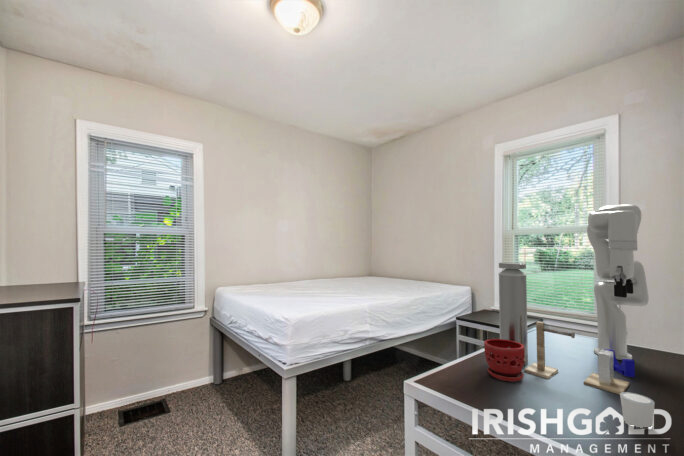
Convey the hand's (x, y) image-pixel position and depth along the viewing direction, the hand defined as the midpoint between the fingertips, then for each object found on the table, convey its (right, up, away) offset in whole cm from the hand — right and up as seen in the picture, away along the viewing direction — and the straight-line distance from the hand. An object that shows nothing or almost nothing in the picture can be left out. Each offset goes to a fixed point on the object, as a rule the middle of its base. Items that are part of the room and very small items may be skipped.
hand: (623, 295), depth 110 cm
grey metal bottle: (-28, -31, +19) cm, 46 cm away
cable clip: (+7, -32, +11) cm, 34 cm away
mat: (-8, -30, -2) cm, 31 cm away
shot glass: (-19, -30, -25) cm, 43 cm away
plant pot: (-40, -31, +4) cm, 50 cm away
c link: (-7, -30, -2) cm, 31 cm away
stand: (-21, -31, +6) cm, 38 cm away
